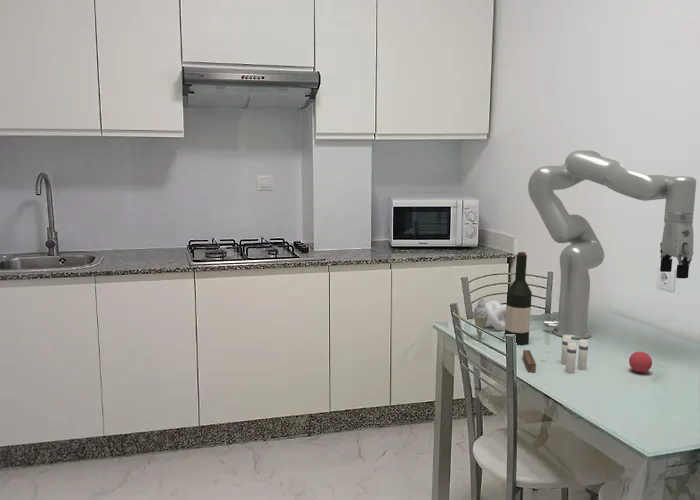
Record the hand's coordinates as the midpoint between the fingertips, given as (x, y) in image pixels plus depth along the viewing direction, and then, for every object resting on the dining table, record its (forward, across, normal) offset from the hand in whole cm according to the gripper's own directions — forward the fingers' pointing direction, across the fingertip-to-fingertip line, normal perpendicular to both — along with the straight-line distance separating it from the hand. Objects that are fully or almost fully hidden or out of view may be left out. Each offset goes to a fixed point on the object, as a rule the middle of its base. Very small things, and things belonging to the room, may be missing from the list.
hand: (673, 274), depth 181 cm
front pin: (+26, -10, +29) cm, 41 cm away
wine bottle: (+26, +14, +43) cm, 52 cm away
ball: (+23, -12, +14) cm, 29 cm away
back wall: (+26, -8, +44) cm, 52 cm away
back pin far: (+26, -6, +33) cm, 42 cm away
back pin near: (+26, -13, +34) cm, 45 cm away
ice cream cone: (+26, +15, +54) cm, 62 cm away
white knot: (+26, +29, +46) cm, 60 cm away
